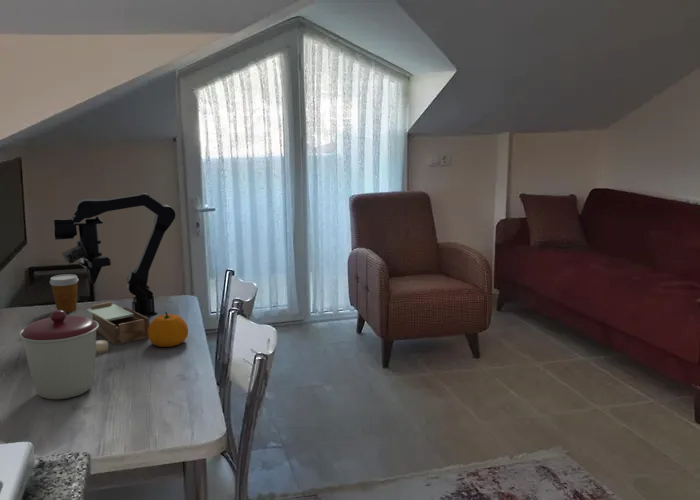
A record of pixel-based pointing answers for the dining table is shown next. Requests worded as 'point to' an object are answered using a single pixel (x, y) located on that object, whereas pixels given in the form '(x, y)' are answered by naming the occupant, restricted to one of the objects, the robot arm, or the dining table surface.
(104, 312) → the lid
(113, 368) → the dining table surface
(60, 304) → the disposable coffee cup
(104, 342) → the tape roll
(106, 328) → the walnut box
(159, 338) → the fruit
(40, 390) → the canister
